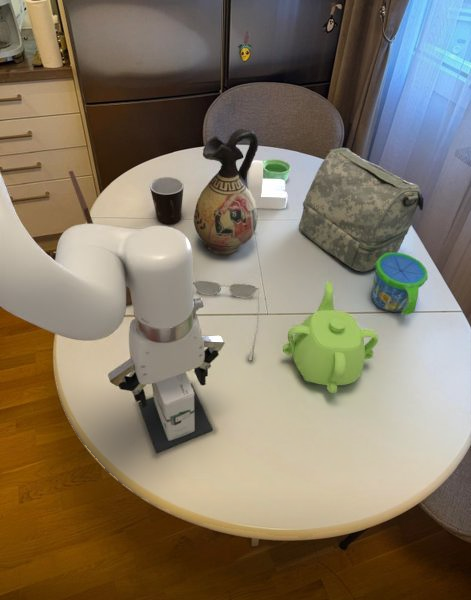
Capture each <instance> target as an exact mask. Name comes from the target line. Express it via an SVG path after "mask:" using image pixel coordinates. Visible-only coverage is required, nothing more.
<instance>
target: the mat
mask: <svg viewBox="0 0 471 600" xmlns="http://www.w3.org/2000/svg"><path fill="white" fill-rule="evenodd" d="M190 383H191V386H192V388H193V391H194V418H195V431H194V432H192V433H189V434H187V435H184V436H182V437H179V438H176V439H173V440H170V441H169V440H168V438H167V436H166V433H165V430H164V428H163V425H162V422H161V419H160V417H159V414H158V411H157V409H156V406H155V403H154V397H153V396H152V397H150V398H146V402H147V406H146V407H144V408H143V407H142V405H141V402H140V401H138V406H139V409H140V412H141V414H142V418H143V421H144V423H145V426H146V430H147V431H148V435H149V438H150V440H151V443H152V446H153V449H154V451H155V454H159V453H163V452H164V451H166V450H169V449H171V448H174V447H176V446H179V445H181V444H184V443H186V442H188V441H191V440H194V439H195V438H198V437H200V436H203V435H205V434H208V433H211V432H212V431H213V430H214V429H213V426H212V424H211V422H210V421H209V418H208V415H207V413H206V412H205V409H204V407H203V405H202V403H201V400H200V398H199V396H198V394H197V392H196V390H195V388H194V386H193V383H192V382H190Z"/></svg>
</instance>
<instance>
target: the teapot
mask: <svg viewBox="0 0 471 600" xmlns="http://www.w3.org/2000/svg"><path fill="white" fill-rule="evenodd" d="M293 336H294V337H293ZM364 338H370V339H369V340H368V342H367V343H366V344H365V341H364V340H365V339H364ZM287 341H288V342H287V343H284V344H283V345H282V352H283V354H285V355H287V356H292V357H293V360H294V363H295V366H296V368H297V370H298V371H299V373H300V374H301V375H302V378H303V380H304V381H306V382H307V383H313V384H318V385H323V386H326V389H327V391H328V392H329V393H331V394H336V393H338V386H345V385H349V384H353V383H354V382H356V381H357V380H358V379H359V378H360V377H361V375H362V372H363V369H364V366H365V361H367V360H371V359H372V358H374V354H375V352H374V348H375V347H376V346H377V344H378V342H379V336H378V333H377V332H376V331H375V330H374V329H369V328H362V329H361V328H360V326H359V324H358V321H357V319H356V318H355V317H354V316H353V315H351V314H350V313H348V312H345V311H341V310H335V307H334V287H333V284H332V282H331V281H329V280H328V281H326V282H325V286H324V295H323V297H322V300H321V302H320V304H319V306H318V308H317V311H315V312H314V313H312V314H311V315H309V316H308V317H307V318H305V320H303V322H302V323H301V324H298V325H294V326H291V327H290V328H289V330H288V331H287Z"/></svg>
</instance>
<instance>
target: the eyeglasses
mask: <svg viewBox="0 0 471 600" xmlns="http://www.w3.org/2000/svg"><path fill="white" fill-rule="evenodd" d="M193 287H194V288H195V289H196V291H197V293H198V294H202V295H208V296H209V295H211V296H213V295H214V296H215V295H216V294H217V293H219V292H220V291H221V287H226V288H227V287H228V291H229V294H232V295H233V296H234V297H237V298H242V299H243V298H245V299H247V298H251V297H253V295H254V294H255V293H256V291H257V293H258V294H260V292H261V291H260V290H261V288H260V287H259V286H256V285H254V284H250V283H241V282H240V283H232V284H230V285H228V284H226V283H224V284H220V283H219V282H217V281H213V280H205V279H198V280H195V281H193ZM257 314H258V315H257V319H259V318H260V317H259V316H260V308H258V312H257ZM258 326H259V320H257V321H256V325H255V330H254V335H253V341H252V345H251V349H250V352H249V357H248V361H249V362H251V361H253V356H254V349H255V343H256V336H257V331H258Z"/></svg>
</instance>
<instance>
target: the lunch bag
mask: <svg viewBox="0 0 471 600" xmlns="http://www.w3.org/2000/svg"><path fill="white" fill-rule="evenodd" d="M424 200H425V199H424V197H423V195H422V193H421V189H420V186H419V185H417V183H412V182H409V181H406V180H405V179H404V178H402V177H399V176H397V175H395V174H394V173H392V172H390V171H389V170H387V169H385V168H383V167H381V166H380V165H377V164H375V163H372V162H369V161H368V160H366V159H363V158H361V156H360V155H358V154H356V153H355V152H352V151H351V150H350V149H349V148H347V147H340V148H334V149H329V152H328V153H327V155H326V156H325V158H324V160H323V161H322V162H321V164H320V166H319V167H318V170H317V171H316V174H315V175H314V178H313V180H312V182H311V184H310V187H309V189H308V191H307V193H306V195H305V199H304V200H303V202H302V207H303V208H302V213H301V217H300V221H299V223H298V228H299V230H300V232H302V233H303V234H304V235H305V236H306V237H307V238H309V239H310V240H311V241H312V242H314V243H315V244H316V245H317V246H319V248H321V249H322V250H324V251H325V252H327V253H329V254H330V255H332V256H333V257H335V258H337V259H338V260H339V261H340V262H342V263H343V264H344V265H346V266H348V267H350V268H351V269H353V270H354V271H357V272H368V271H371V270H374V269H376V267H375V265H376V261H378V259H379V258H380V257H381V255H382V254H383V253H390V252H391V253H399V250H400V248H401V246H402V245H403V242H404V240H405V237H406V236H407V234H408V233H409V230H410V228H411V226H412V224H413V221H414V218H415V214H416V212H417V209H418V208H419V209H418V210H420V211H423V210H424Z"/></svg>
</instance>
